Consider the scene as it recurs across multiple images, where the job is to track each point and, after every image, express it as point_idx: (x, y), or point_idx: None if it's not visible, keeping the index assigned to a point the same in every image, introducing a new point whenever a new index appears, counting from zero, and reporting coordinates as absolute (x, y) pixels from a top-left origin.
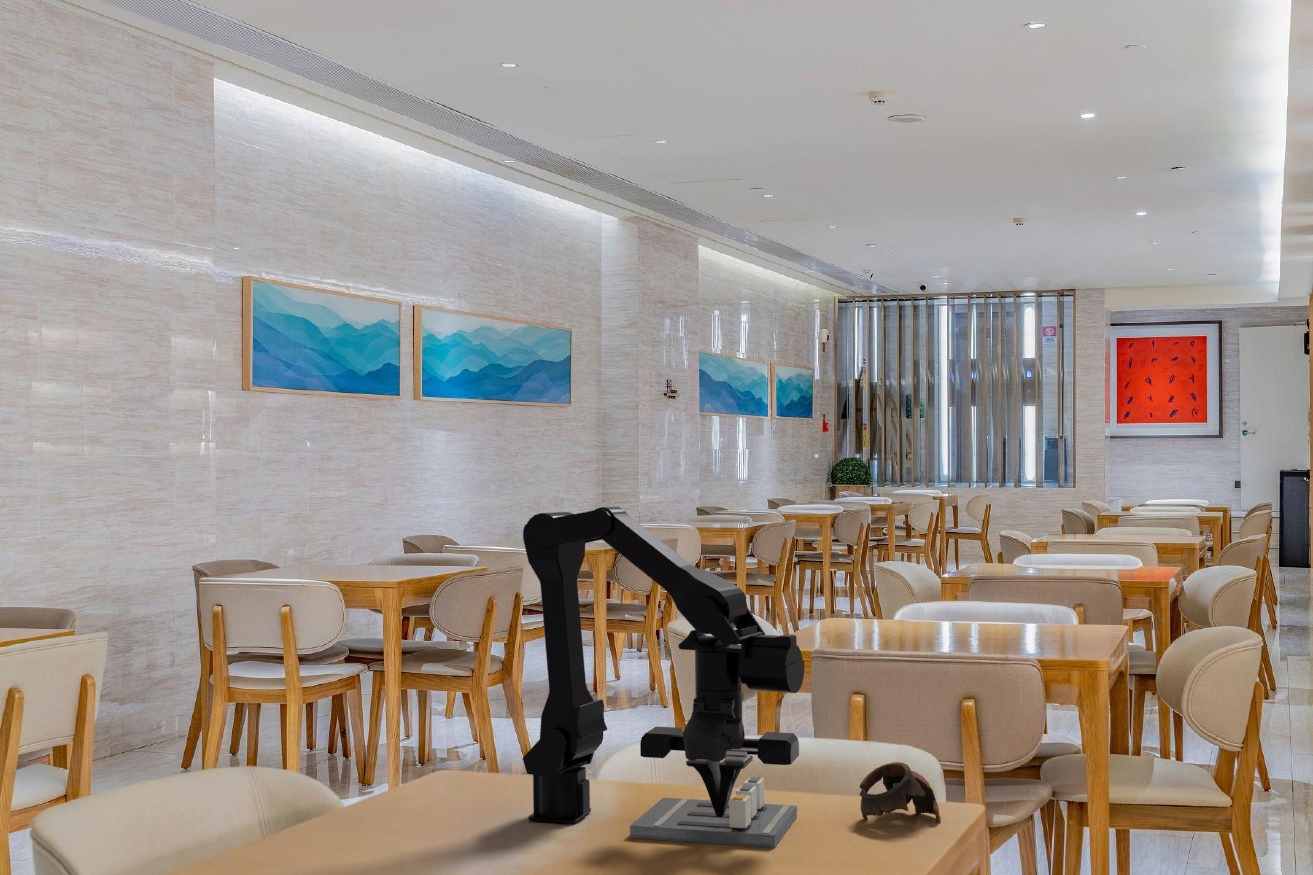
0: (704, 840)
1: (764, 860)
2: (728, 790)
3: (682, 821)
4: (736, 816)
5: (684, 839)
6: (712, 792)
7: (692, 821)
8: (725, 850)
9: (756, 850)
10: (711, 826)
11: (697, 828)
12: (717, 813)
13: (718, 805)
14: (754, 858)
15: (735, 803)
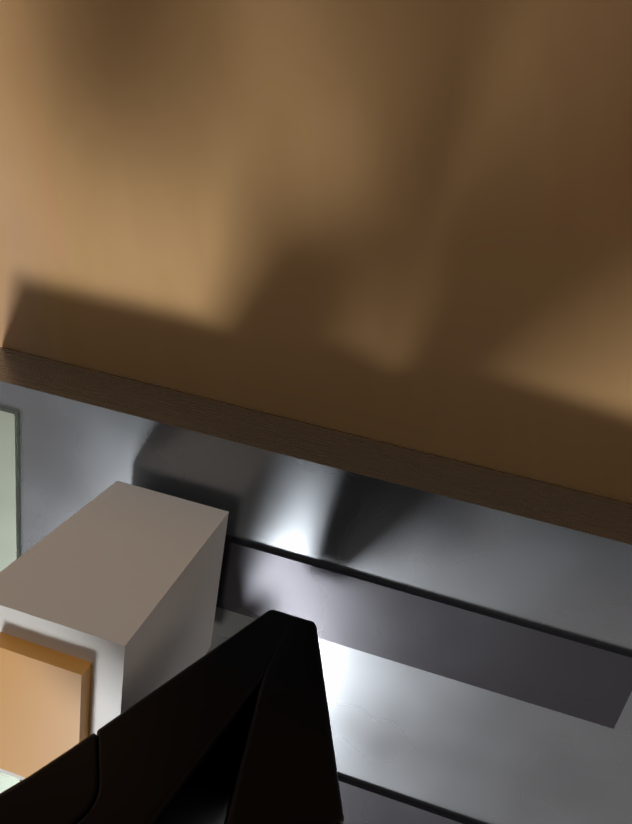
0: (424, 458)
1: (3, 68)
2: (76, 746)
3: (597, 707)
4: (140, 540)
5: (572, 497)
6: (284, 784)
7: (516, 696)
8: (274, 290)
9: (88, 298)
10: (369, 580)
11: (475, 543)
12: (299, 629)
13: (266, 666)
14: (69, 110)
15: (80, 603)
